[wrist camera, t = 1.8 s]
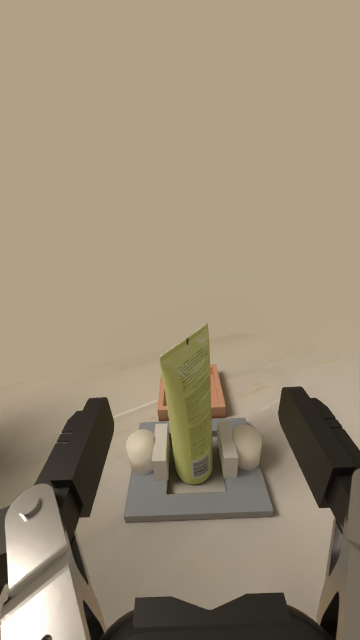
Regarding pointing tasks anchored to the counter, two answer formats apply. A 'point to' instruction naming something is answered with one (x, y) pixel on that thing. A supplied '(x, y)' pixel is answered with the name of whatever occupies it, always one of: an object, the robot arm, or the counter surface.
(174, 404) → the tube
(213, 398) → the tray
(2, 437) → the counter surface
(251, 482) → the blue-grey holder stand
